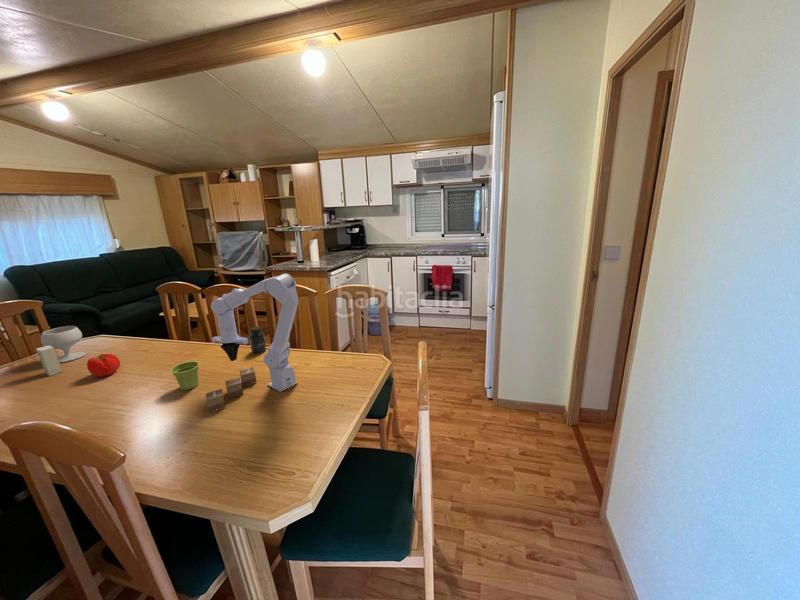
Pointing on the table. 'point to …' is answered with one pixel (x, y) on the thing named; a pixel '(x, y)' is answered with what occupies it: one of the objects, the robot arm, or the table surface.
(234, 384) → the plain block
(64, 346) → the chalice
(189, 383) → the plant pot
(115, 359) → the tomato
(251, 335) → the supplement bottle
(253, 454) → the table surface
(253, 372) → the block seven
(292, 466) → the table surface
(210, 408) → the block one
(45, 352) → the skincare box
